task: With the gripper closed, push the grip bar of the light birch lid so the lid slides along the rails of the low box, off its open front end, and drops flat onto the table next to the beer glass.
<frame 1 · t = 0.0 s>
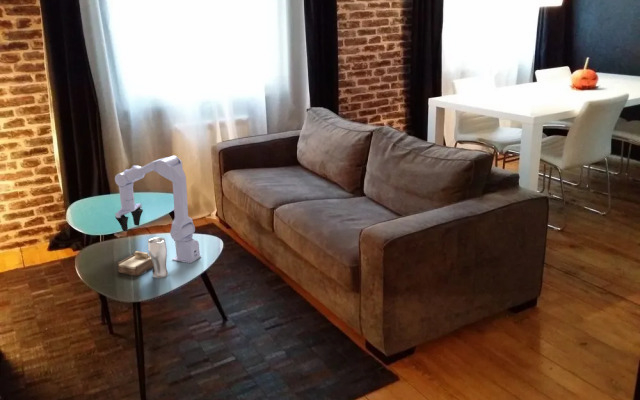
hand: (131, 228, 268), 10 cm above the table, tool pointing down, fingers open, 7 cm apart
box: (137, 268, 250), on the table
beer glass: (160, 275, 244), on the table
lid: (135, 262, 248), point 3 cm above the table, touching box
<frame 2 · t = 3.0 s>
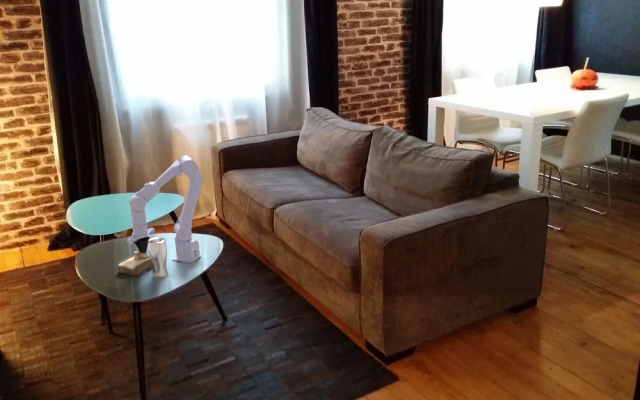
hand: (143, 254, 252), 5 cm above the table, tool pointing down, fingers closed
lid: (134, 263, 248), point 3 cm above the table, touching gripper
everything else where it was.
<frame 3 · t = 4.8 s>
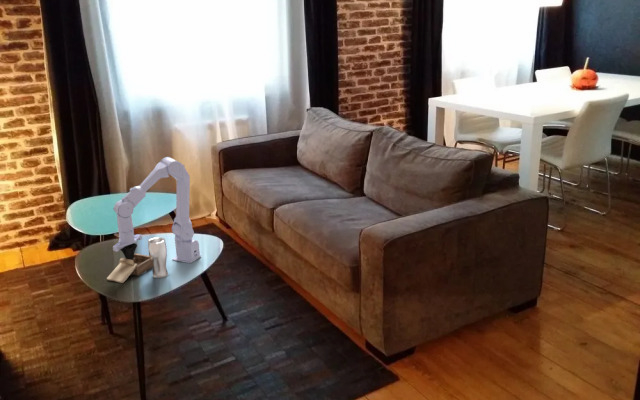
hand: (130, 261, 245), 5 cm above the table, tool pointing down, fingers closed
lid: (122, 272, 242), point 2 cm above the table, tilted 22°, touching gripper
everything else where it was.
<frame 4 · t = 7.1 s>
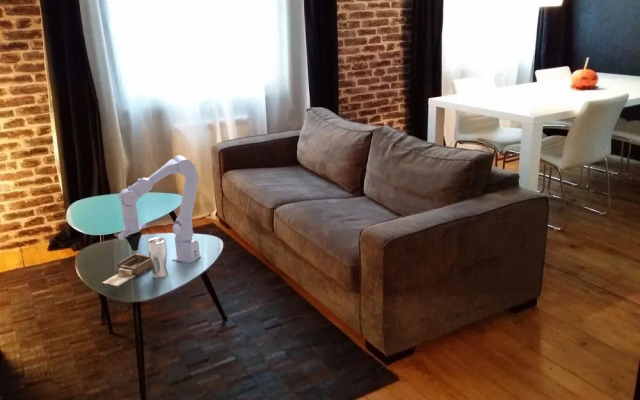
hand: (135, 250, 247), 8 cm above the table, tool pointing down, fingers closed
lid: (119, 280, 241), on the table
everything else where it was.
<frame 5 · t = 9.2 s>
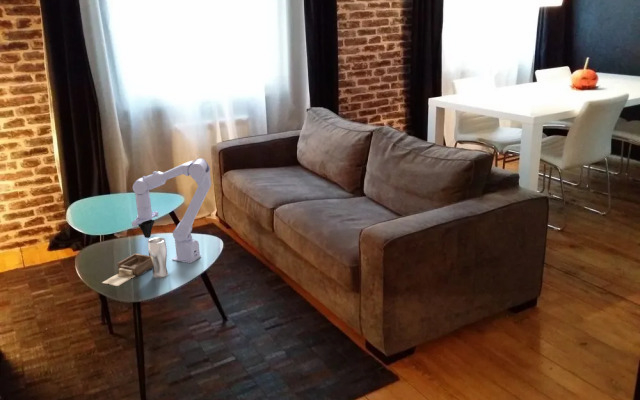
hand: (147, 237, 257), 10 cm above the table, tool pointing down, fingers closed
nothing on the table moved.
at the end: lid inside the target area (1.6 cm from its centre), on the table; lid tilted 0° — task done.
